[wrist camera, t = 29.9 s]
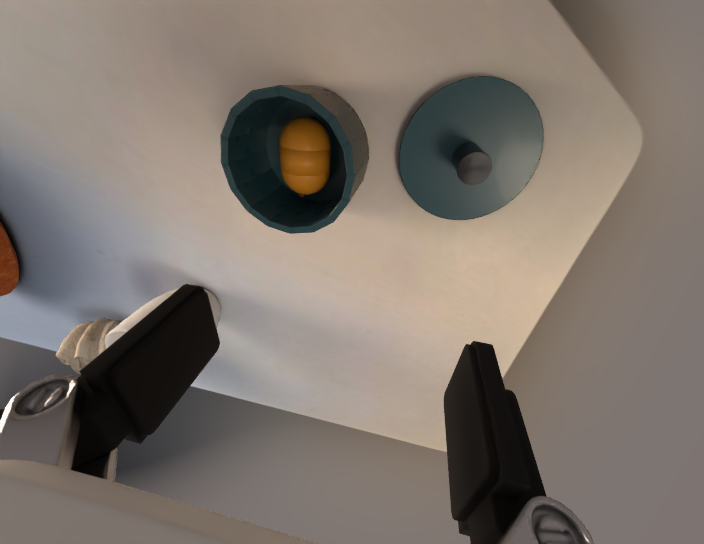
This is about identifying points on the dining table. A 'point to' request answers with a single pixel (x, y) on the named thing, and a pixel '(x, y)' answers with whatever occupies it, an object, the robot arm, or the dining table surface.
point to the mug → (146, 309)
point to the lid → (471, 148)
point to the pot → (264, 156)
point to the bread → (7, 264)
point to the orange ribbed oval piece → (305, 155)
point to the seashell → (85, 343)
